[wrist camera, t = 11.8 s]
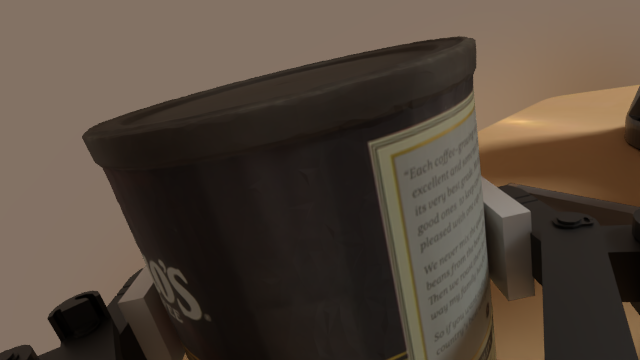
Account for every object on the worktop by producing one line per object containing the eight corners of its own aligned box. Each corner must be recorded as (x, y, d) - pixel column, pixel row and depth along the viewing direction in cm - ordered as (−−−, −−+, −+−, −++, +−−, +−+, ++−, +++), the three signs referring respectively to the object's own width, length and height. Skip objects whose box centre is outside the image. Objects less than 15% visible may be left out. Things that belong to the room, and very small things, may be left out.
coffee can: (283, 703, 9) (-14, 172, 5) (231, 389, 19) (117, 112, 14) (588, 483, 12) (593, 7, 7) (408, 305, 21) (360, 50, 17)
